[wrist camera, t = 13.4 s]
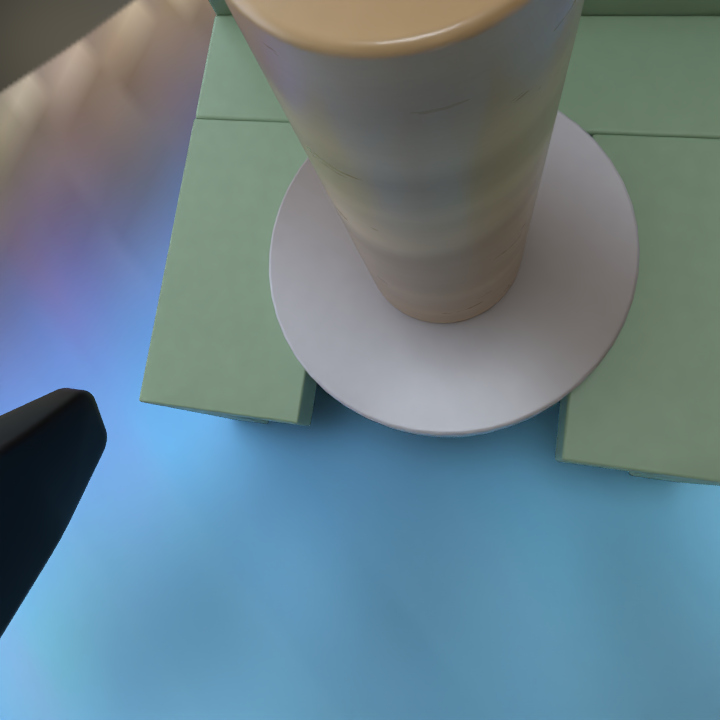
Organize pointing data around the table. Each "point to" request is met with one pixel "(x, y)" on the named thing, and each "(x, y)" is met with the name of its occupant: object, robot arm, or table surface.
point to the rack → (581, 104)
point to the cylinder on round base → (441, 209)
